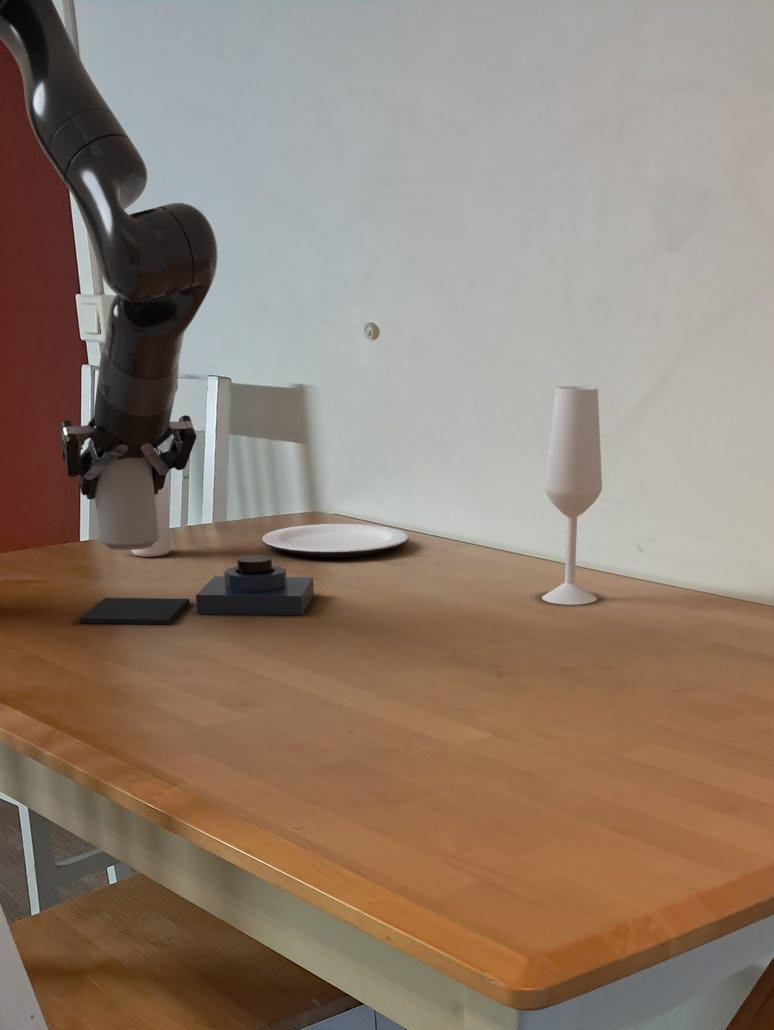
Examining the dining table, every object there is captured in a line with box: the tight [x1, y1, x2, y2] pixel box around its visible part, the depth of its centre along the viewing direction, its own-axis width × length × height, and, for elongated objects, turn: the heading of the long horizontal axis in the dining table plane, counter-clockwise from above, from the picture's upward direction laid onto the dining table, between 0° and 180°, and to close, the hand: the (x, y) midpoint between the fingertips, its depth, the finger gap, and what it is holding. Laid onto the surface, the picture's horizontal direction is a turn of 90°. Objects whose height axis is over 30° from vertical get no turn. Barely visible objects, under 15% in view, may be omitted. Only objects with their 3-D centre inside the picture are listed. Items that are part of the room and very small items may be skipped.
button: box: [236, 555, 273, 575], centre depth 148 cm, size 4×4×2 cm
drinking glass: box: [130, 440, 171, 558], centre depth 174 cm, size 7×7×15 cm
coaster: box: [78, 597, 190, 625], centre depth 146 cm, size 10×10×1 cm
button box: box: [195, 564, 315, 616], centre depth 149 cm, size 12×10×4 cm
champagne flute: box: [541, 385, 603, 606], centre depth 149 cm, size 7×7×24 cm
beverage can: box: [92, 456, 159, 551], centre depth 140 cm, size 6×6×12 cm
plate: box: [261, 523, 410, 559], centre depth 181 cm, size 21×21×2 cm
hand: (120, 490), depth 141 cm, fingers closed on beverage can, 6 cm apart
